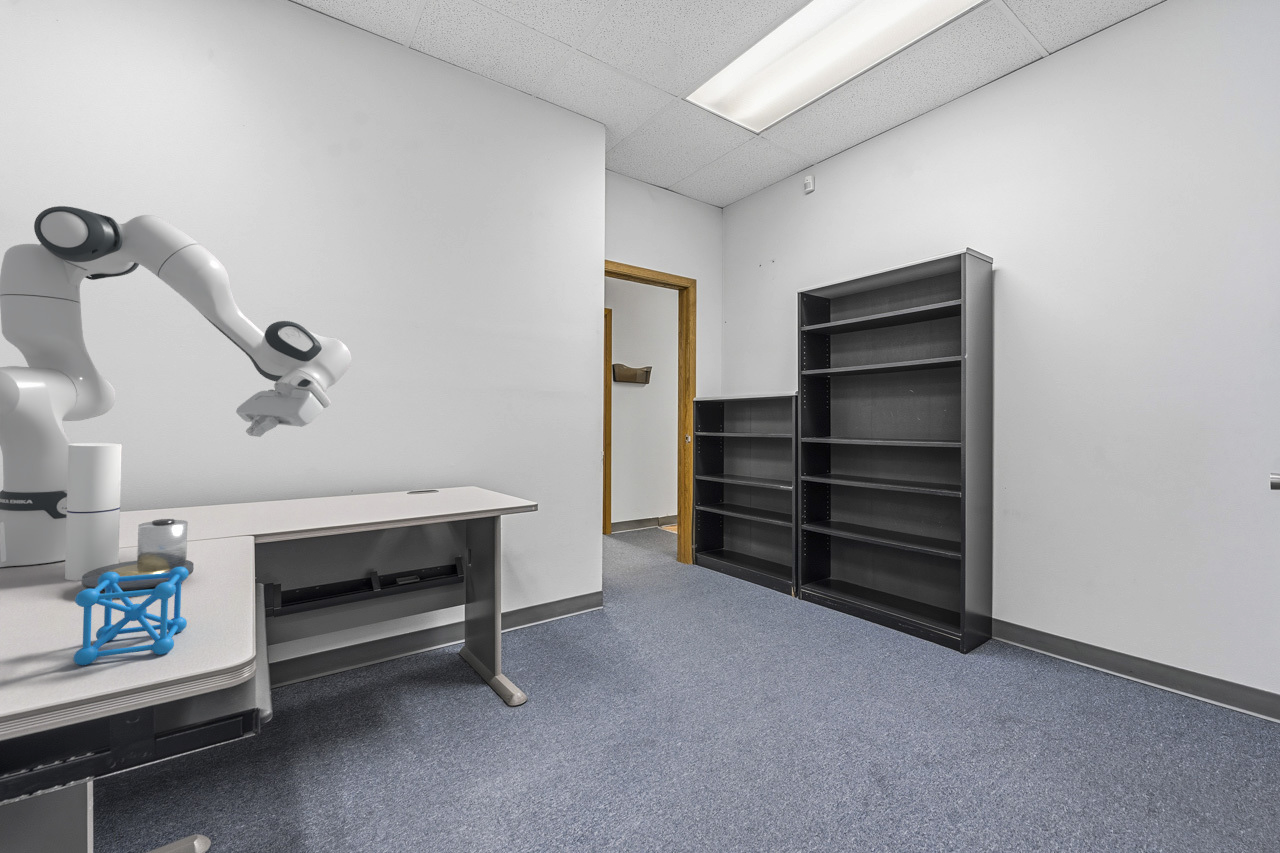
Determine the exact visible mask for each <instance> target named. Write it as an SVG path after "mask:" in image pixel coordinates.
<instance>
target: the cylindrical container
mask: <svg viewBox="0 0 1280 853" xmlns="http://www.w3.org/2000/svg"><path fill="white" fill-rule="evenodd" d="M122 446H123V443H122V444H121V443H115V442H113V443H112V442H78V443H77V442H76V443H75V442H74V444H68V478H67V518H66V558H65V560H64V561H65V562H64V569H65V570H64V579H65V580H67V581H76V582H77V581H78V580H79V581H82V576H83V575H84V574H86V573H87V572H89V571H92V570H94V569H97V568H101V567H104V566H109V565H113V564H118V563H120V562H119V560H120V559H119V557H120V553H119V552H120V528H121V527H120V526H121V524H120V523H121V522H120V521H121V492H122V488H121V486H122V485H121V484H122V450H123V449H122V448H123V447H122Z"/></svg>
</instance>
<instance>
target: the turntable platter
mask: <svg viewBox="0 0 1280 853" xmlns="http://www.w3.org/2000/svg"><path fill="white" fill-rule="evenodd" d="M181 567H185V568H186V569H187V570H188V573H189V574H188V576H190V575H191V574H192V573H193V572H194V567H195V566H194V562H193V561H191V560H187V559H186V564H185V565H183V566H181ZM171 570H172V569H167V570H159V571H141V570H138V569H137V560H130V561H125V562H119V563H118V564H113V565H109V566H104V567H101V568H97V569H94V570H92V571H89V572H87V573H86V574H84V575H83V576H82V580H81V586H82V587H83V588H85V589H94V588H96V587H97V586H98V582H97V581H98V578H99V577H100V576H101V575H102V574H104V573H106V572H116V573H118V574H119V576H120V577H122V576H134V575H147V574H160V573H169V572H170V571H171ZM168 580H169V578H160V579H148V580H136V581H123V582H119V583H118V584H117V585H118V586H119V587H120V589H121V590H124V589H134V588H142V587H149V586H154V585H159V584H161V583H164V582H167V581H168ZM102 590H105V588H103V589H102ZM102 590H101V591H102Z"/></svg>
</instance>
